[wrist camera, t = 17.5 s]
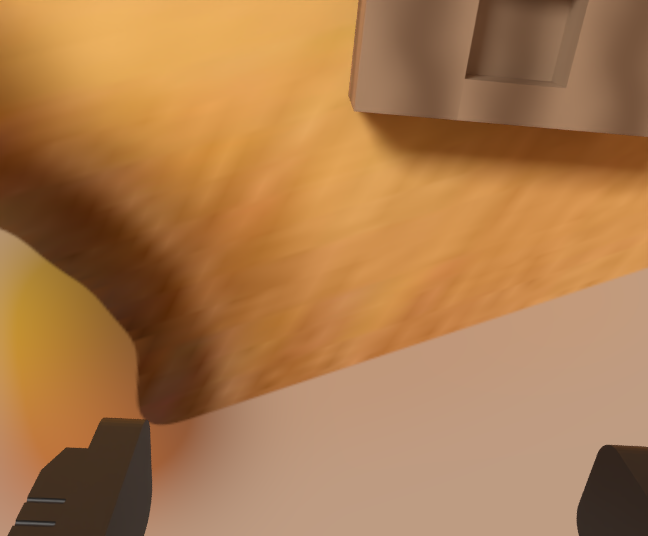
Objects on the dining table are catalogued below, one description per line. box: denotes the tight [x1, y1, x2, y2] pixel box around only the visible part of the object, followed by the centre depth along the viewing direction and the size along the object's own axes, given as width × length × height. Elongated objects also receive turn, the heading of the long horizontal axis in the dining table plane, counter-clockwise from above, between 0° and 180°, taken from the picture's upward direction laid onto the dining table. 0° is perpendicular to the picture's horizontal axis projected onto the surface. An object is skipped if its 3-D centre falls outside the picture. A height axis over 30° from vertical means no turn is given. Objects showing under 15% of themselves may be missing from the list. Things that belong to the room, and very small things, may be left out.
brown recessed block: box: [349, 0, 648, 137], centre depth 34 cm, size 17×10×4 cm, turn 85°
